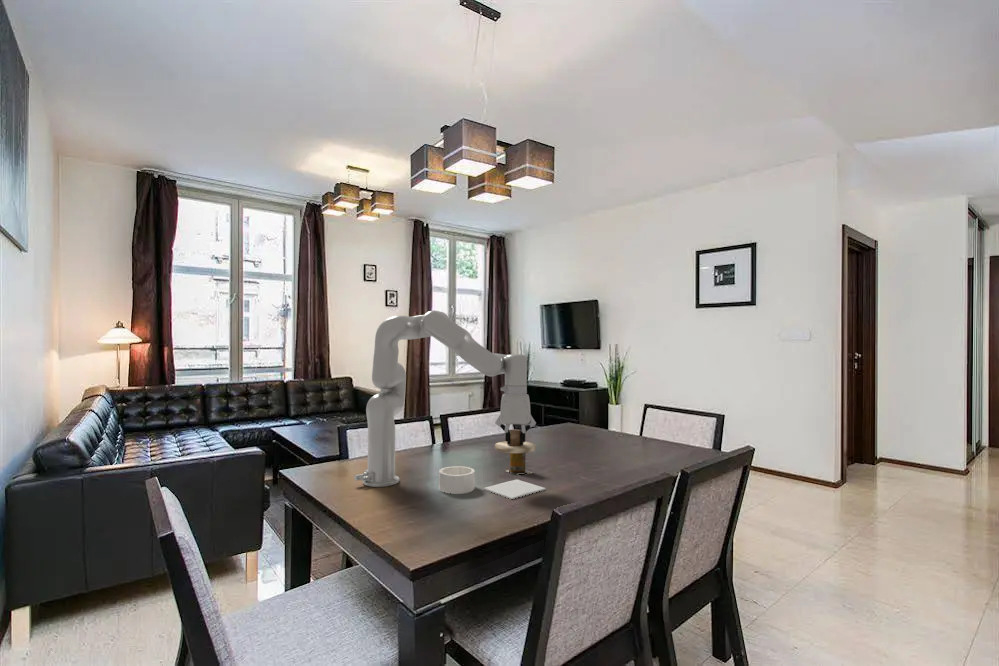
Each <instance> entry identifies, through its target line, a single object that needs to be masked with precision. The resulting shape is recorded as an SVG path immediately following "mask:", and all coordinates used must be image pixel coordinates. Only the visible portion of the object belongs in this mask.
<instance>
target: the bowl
mask: <svg viewBox="0 0 999 666" xmlns="http://www.w3.org/2000/svg"><path fill="white" fill-rule="evenodd" d="M475 487H476V471H475V469H474V468H472V467H469V466H464V465H463V466H461V465H457V466H455V465H454V466H447V467H442V468H440V469H439V470H438V490H439V492H442V493H444V492H445V493H444V494H450V493H451V494H452V495H460V494H463V495H464V494H468V493H471V492H473V491H474V490H475V489H476V488H475Z"/></svg>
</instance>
